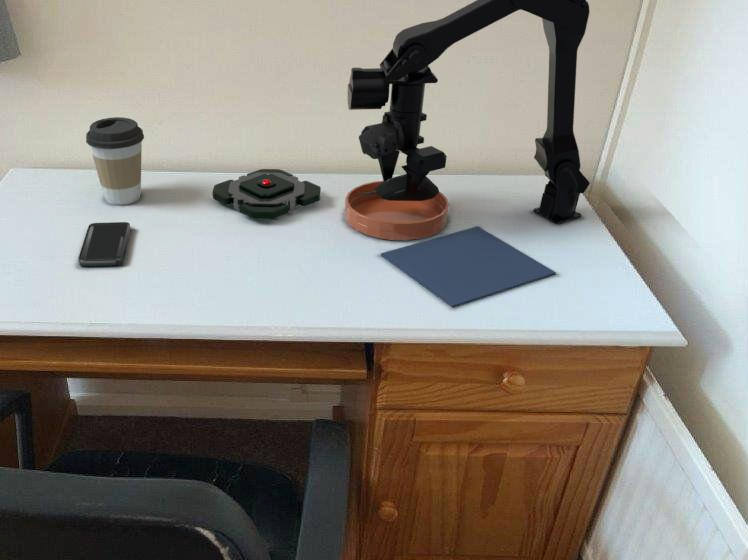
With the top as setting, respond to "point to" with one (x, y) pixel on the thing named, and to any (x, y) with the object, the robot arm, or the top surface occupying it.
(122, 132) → the coffee cup
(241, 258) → the top surface
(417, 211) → the terracotta plant saucer
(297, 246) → the top surface
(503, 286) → the mouse mat
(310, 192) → the clover-shaped pad
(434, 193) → the gaming mouse
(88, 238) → the phone
